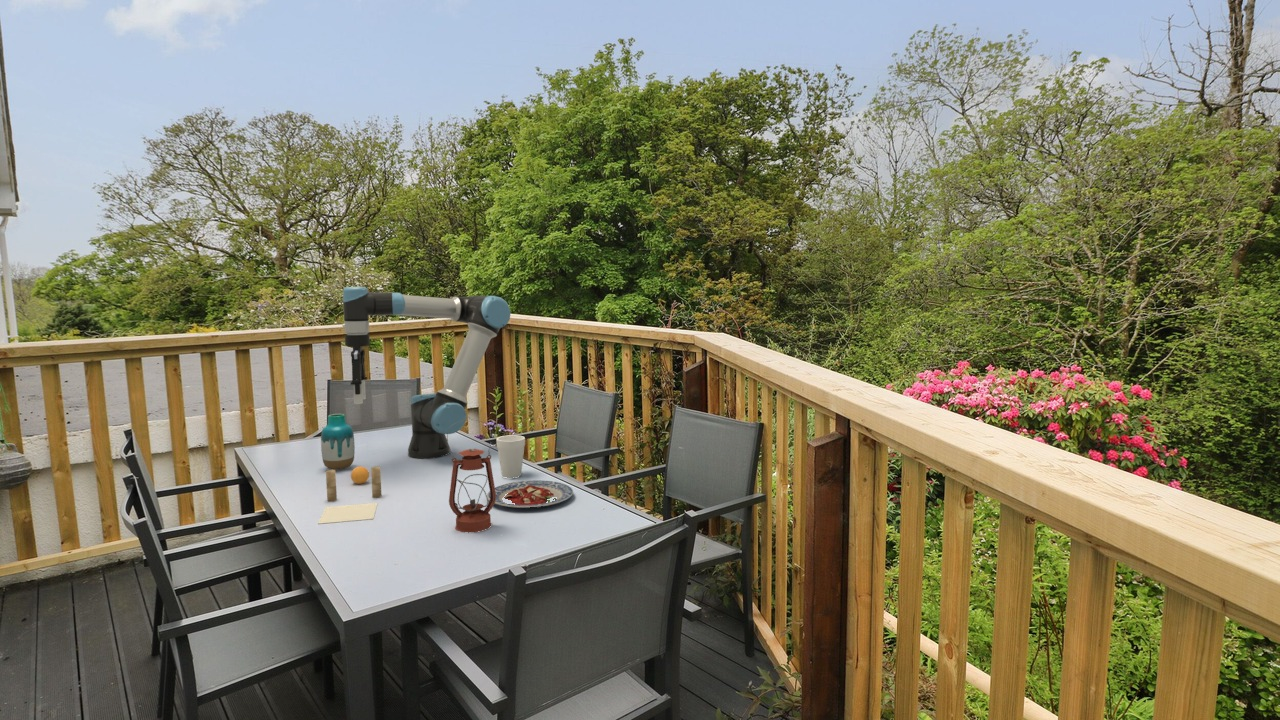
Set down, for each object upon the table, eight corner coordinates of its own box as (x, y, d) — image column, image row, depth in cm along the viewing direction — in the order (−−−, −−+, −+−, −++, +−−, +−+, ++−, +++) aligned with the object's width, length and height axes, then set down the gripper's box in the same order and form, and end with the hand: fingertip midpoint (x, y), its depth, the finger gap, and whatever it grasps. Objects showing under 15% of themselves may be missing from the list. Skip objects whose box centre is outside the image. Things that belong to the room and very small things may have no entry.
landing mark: (377, 503, 201) (377, 502, 201) (373, 519, 188) (373, 518, 188) (325, 507, 197) (325, 507, 197) (317, 524, 184) (317, 523, 184)
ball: (370, 480, 224) (369, 464, 224) (368, 485, 219) (367, 468, 218) (352, 481, 223) (351, 465, 222) (350, 486, 217) (349, 469, 217)
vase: (347, 473, 233) (344, 418, 230) (316, 473, 233) (313, 418, 231) (360, 465, 243) (358, 412, 241) (331, 464, 243) (328, 412, 241)
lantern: (472, 535, 176) (469, 421, 172) (445, 527, 181) (441, 417, 178) (499, 524, 184) (496, 415, 181) (472, 517, 189) (469, 411, 186)
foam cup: (491, 478, 227) (490, 440, 226) (507, 471, 236) (506, 434, 234) (516, 481, 224) (515, 442, 222) (530, 473, 232) (530, 436, 231)
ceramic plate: (469, 500, 205) (469, 490, 205) (537, 482, 224) (537, 473, 224) (522, 520, 188) (522, 510, 187) (590, 499, 206) (590, 489, 206)
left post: (337, 498, 205) (335, 469, 204) (336, 501, 203) (334, 471, 202) (328, 499, 205) (326, 470, 204) (326, 501, 202) (325, 472, 201)
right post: (381, 494, 209) (380, 466, 208) (381, 497, 207) (379, 468, 206) (372, 495, 208) (371, 467, 207) (372, 498, 206) (370, 469, 205)
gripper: (348, 331, 233) (351, 397, 236) (340, 336, 213) (343, 407, 216) (372, 331, 236) (374, 396, 238) (365, 336, 215) (369, 406, 218)
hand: (360, 401), depth 227 cm, fingers open, 8 cm apart
